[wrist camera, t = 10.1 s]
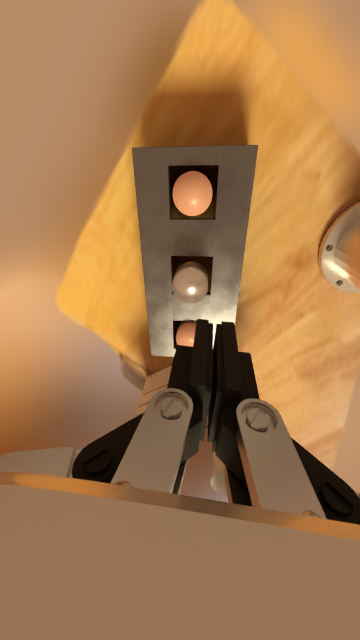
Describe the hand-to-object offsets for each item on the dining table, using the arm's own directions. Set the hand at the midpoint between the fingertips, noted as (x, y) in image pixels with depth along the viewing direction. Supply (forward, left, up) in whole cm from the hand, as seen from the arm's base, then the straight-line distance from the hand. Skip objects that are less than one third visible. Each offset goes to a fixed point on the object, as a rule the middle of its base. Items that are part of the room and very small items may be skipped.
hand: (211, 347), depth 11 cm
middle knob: (+2, +4, -19) cm, 19 cm away
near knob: (+2, -5, -21) cm, 22 cm away
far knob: (+2, +13, -21) cm, 25 cm away
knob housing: (+2, +4, -25) cm, 25 cm away
